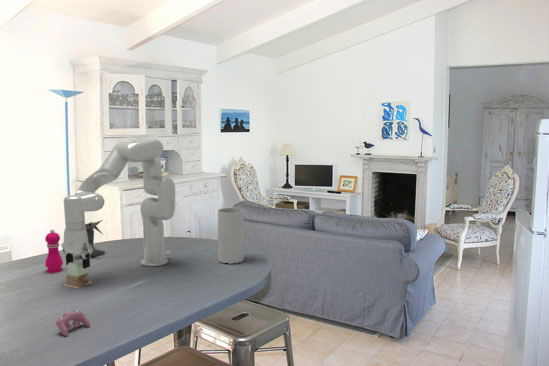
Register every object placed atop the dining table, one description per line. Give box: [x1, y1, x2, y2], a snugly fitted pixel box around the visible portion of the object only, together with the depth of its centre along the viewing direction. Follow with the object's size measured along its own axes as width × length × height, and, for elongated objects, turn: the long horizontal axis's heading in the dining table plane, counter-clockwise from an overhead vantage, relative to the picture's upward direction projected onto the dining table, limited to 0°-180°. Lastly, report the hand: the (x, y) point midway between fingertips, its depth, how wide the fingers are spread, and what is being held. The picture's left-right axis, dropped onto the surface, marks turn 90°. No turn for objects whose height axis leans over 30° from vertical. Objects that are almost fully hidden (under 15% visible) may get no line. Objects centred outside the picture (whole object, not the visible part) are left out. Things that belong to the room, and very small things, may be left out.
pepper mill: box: [44, 229, 64, 274], centre depth 223 cm, size 7×7×20 cm
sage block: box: [67, 259, 88, 277], centre depth 207 cm, size 5×5×5 cm
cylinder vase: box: [217, 207, 245, 265], centre depth 243 cm, size 12×12×25 cm
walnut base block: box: [66, 272, 90, 287], centre depth 208 cm, size 6×6×4 cm
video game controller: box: [55, 310, 91, 337], centre depth 167 cm, size 10×5×7 cm, turn 146°
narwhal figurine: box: [81, 219, 106, 259], centre depth 248 cm, size 14×15×18 cm
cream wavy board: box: [63, 281, 93, 289], centre depth 213 cm, size 17×15×1 cm
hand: (78, 265), depth 207 cm, fingers open, 9 cm apart
